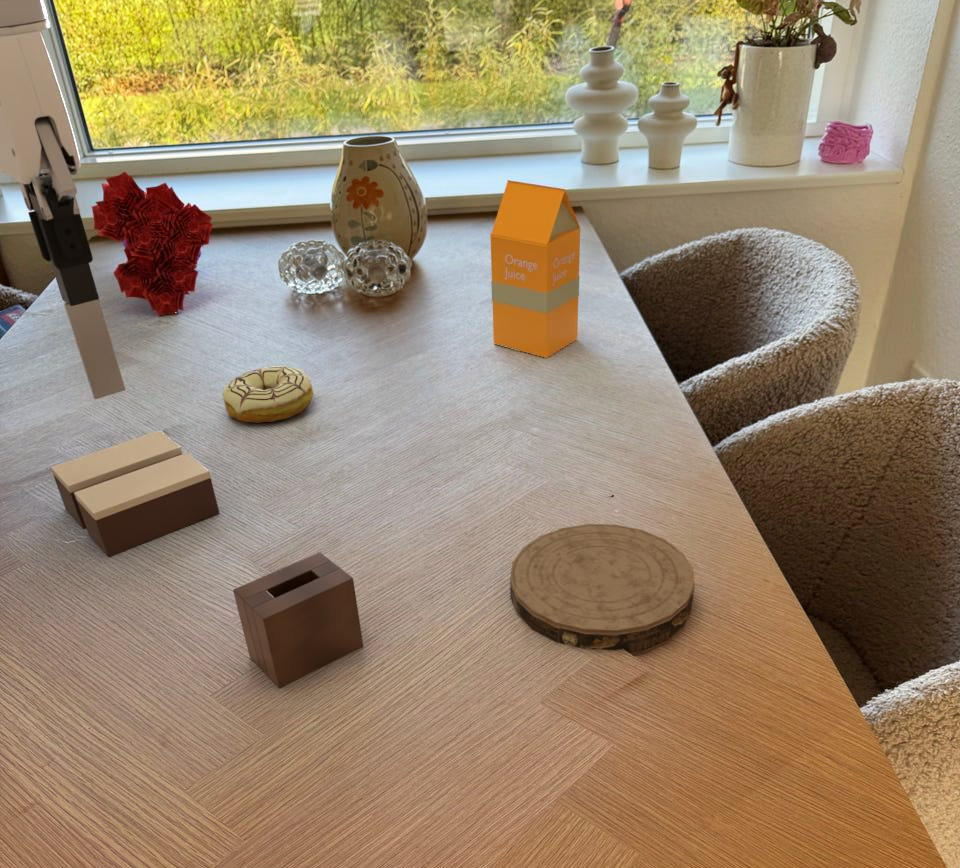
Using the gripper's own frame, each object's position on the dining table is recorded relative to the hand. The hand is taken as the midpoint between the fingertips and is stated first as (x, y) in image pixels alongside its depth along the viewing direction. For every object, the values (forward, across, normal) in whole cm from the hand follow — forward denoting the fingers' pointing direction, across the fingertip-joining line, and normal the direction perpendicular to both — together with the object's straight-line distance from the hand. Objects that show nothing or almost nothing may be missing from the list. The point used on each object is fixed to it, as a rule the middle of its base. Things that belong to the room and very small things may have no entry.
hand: (68, 259), depth 83 cm
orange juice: (+26, -7, +59) cm, 65 cm away
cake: (+26, -4, 0) cm, 26 cm away
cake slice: (+26, +2, 0) cm, 26 cm away
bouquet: (+26, -66, +31) cm, 77 cm away
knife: (+13, 0, 0) cm, 13 cm away
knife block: (+26, +32, +1) cm, 41 cm away
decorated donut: (+26, -13, +22) cm, 37 cm away
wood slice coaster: (+26, +42, +25) cm, 55 cm away
